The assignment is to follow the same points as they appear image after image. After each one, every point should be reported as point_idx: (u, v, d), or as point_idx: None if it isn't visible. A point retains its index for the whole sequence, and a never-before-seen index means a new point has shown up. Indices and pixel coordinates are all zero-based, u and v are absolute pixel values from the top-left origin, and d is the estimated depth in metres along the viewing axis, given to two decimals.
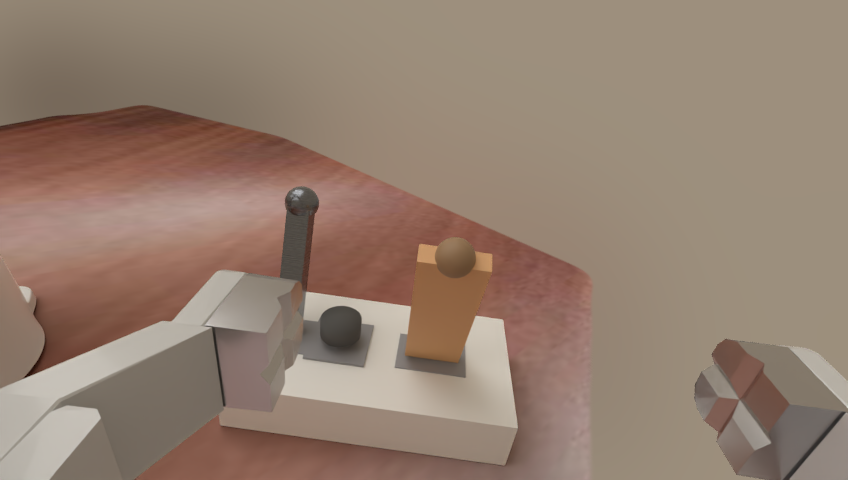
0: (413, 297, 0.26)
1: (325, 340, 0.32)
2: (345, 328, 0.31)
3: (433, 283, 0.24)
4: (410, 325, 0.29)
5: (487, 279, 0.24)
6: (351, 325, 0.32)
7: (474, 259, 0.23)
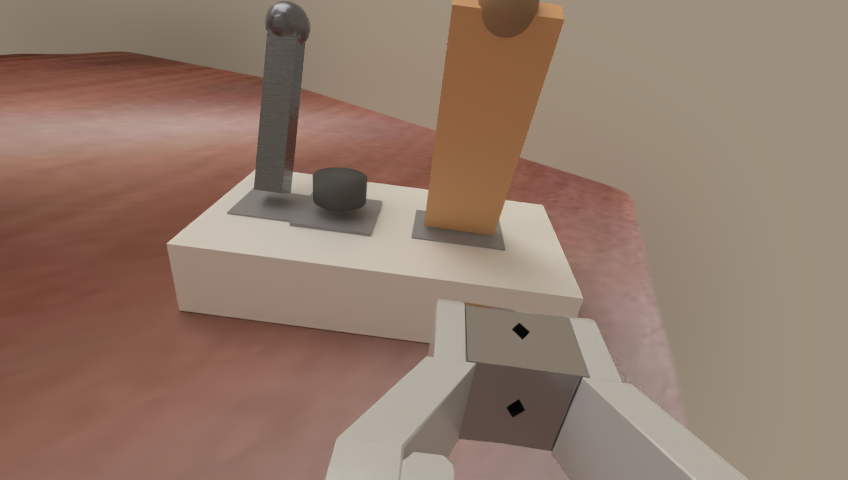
0: (442, 96, 0.18)
1: (319, 202, 0.24)
2: (346, 184, 0.24)
3: (474, 57, 0.17)
4: (434, 160, 0.21)
5: (555, 39, 0.16)
6: (354, 182, 0.24)
7: None
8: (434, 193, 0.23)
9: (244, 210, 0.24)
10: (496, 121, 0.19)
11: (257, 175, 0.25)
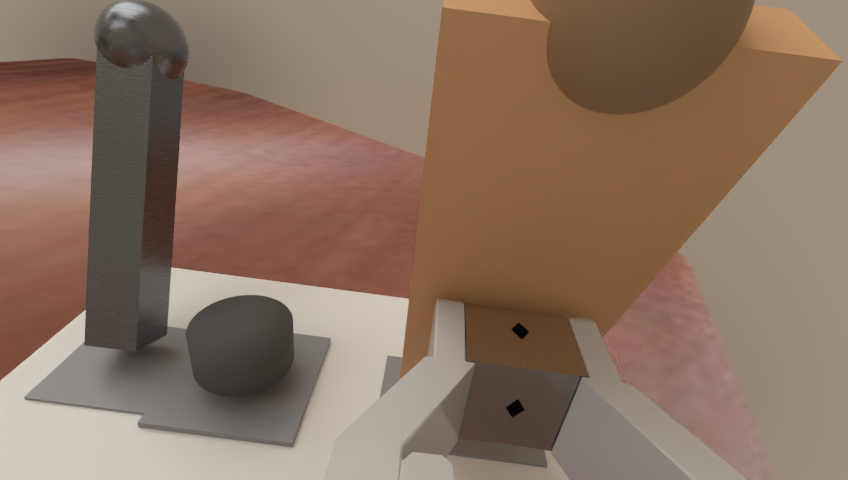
0: (420, 241, 0.07)
1: (198, 379, 0.13)
2: (245, 349, 0.12)
3: (509, 164, 0.06)
4: (409, 340, 0.10)
5: (780, 121, 0.05)
6: (263, 341, 0.13)
7: None
8: None
9: (62, 387, 0.13)
10: (553, 290, 0.08)
11: (90, 320, 0.13)
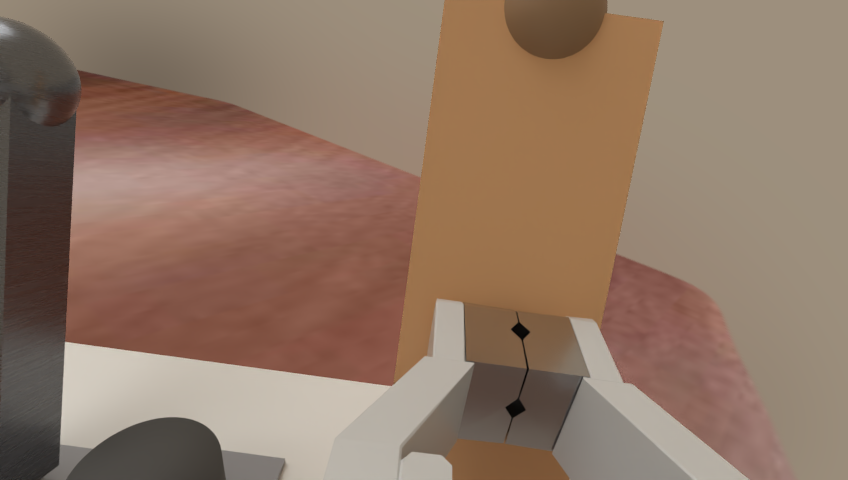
0: (422, 192, 0.09)
1: None
2: None
3: (489, 102, 0.08)
4: (402, 362, 0.09)
5: (650, 62, 0.08)
6: None
7: None
8: None
9: None
10: (541, 253, 0.09)
11: None
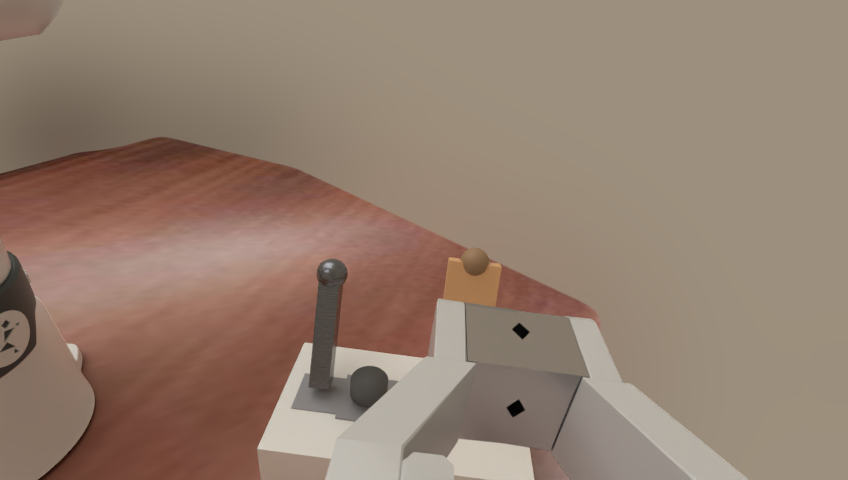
0: None
1: (355, 401, 0.34)
2: (374, 390, 0.34)
3: (460, 285, 0.33)
4: None
5: (498, 276, 0.33)
6: (379, 386, 0.34)
7: (488, 259, 0.33)
8: None
9: (302, 403, 0.35)
10: None
11: (311, 377, 0.35)
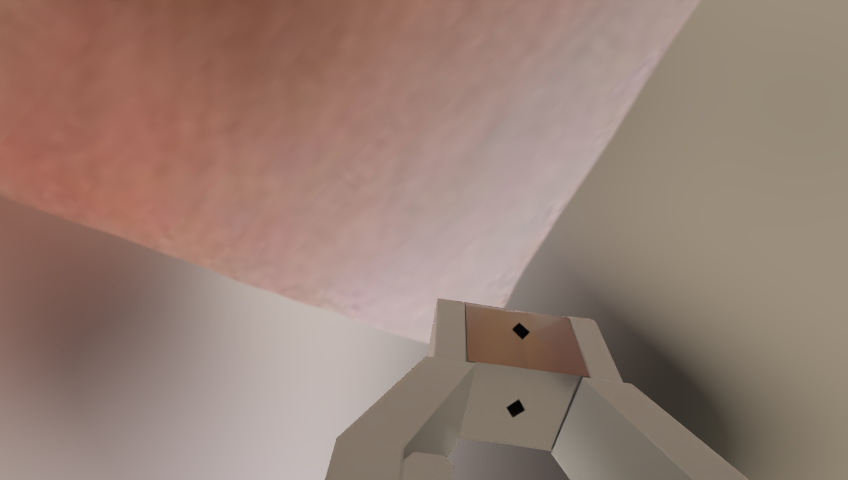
0: None
1: None
2: None
3: None
4: None
5: None
6: None
7: None
8: None
9: None
10: None
11: None
